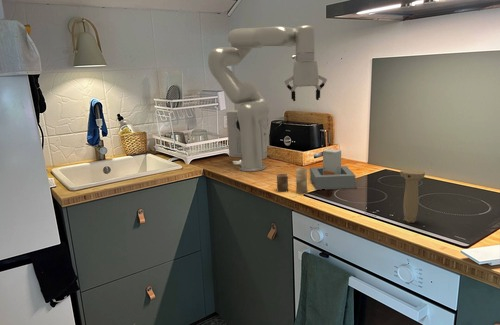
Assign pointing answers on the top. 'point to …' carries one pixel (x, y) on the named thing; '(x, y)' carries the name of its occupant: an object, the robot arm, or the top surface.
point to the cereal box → (235, 135)
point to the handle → (411, 193)
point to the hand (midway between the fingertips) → (305, 100)
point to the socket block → (332, 179)
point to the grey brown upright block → (301, 180)
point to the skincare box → (331, 162)
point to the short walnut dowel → (282, 182)
